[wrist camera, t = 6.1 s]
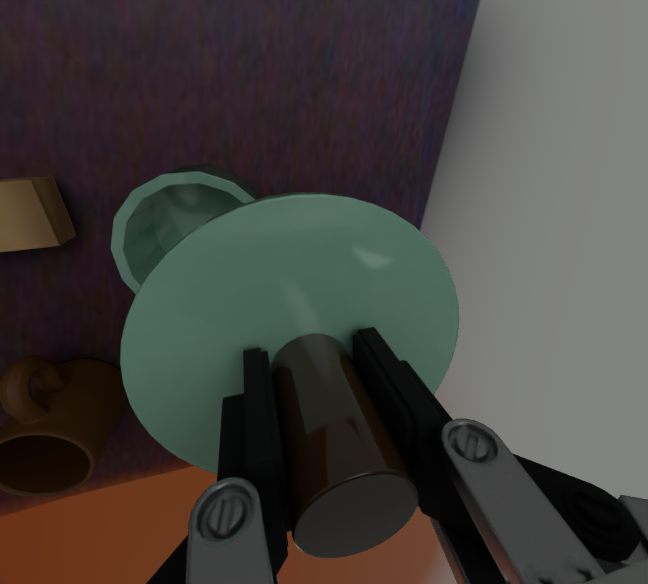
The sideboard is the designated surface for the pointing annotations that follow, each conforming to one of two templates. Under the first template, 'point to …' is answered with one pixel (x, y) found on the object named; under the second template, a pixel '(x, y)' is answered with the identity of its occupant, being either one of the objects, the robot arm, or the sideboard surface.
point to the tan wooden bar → (32, 214)
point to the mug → (56, 423)
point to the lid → (295, 350)
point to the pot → (170, 215)
